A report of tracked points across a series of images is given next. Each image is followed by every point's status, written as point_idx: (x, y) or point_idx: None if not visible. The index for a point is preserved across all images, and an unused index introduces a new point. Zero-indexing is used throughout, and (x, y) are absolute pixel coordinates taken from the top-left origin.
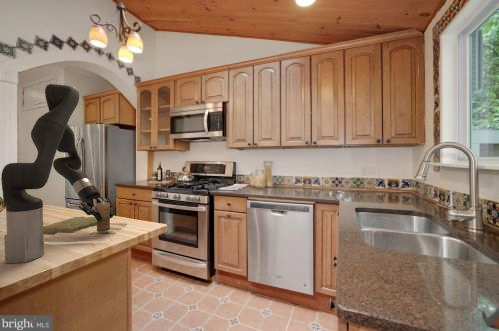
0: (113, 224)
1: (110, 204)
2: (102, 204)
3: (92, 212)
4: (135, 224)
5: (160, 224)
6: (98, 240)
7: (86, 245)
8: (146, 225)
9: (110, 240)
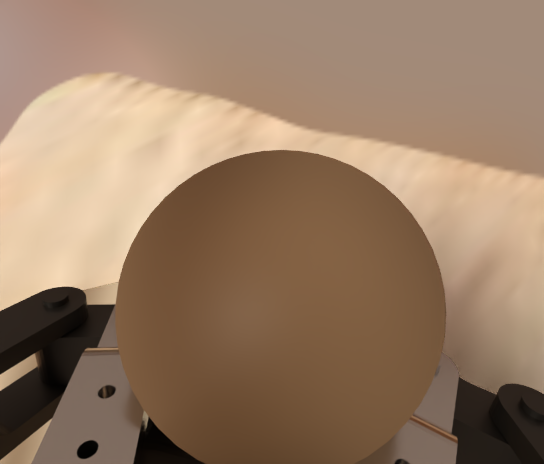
0: (40, 432)
1: (16, 328)
2: (390, 221)
3: (491, 396)
4: (12, 267)
5: (35, 105)
6: None
7: (510, 314)
8: (49, 176)
9: None
